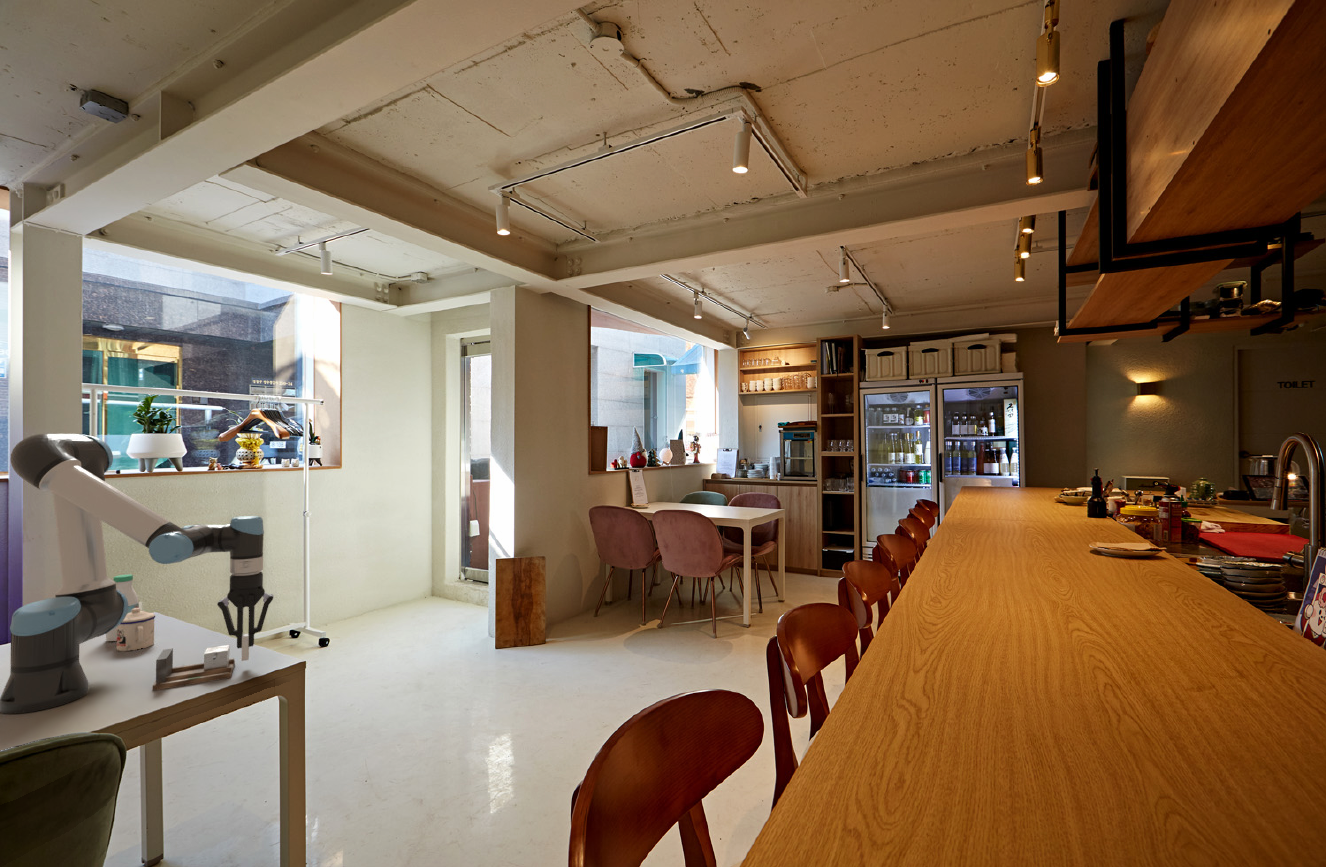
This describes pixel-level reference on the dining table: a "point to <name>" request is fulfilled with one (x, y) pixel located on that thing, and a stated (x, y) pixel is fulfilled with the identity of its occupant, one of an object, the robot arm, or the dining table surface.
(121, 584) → the milk bottle
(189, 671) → the gauge board
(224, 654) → the white box
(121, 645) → the teacup with lid
